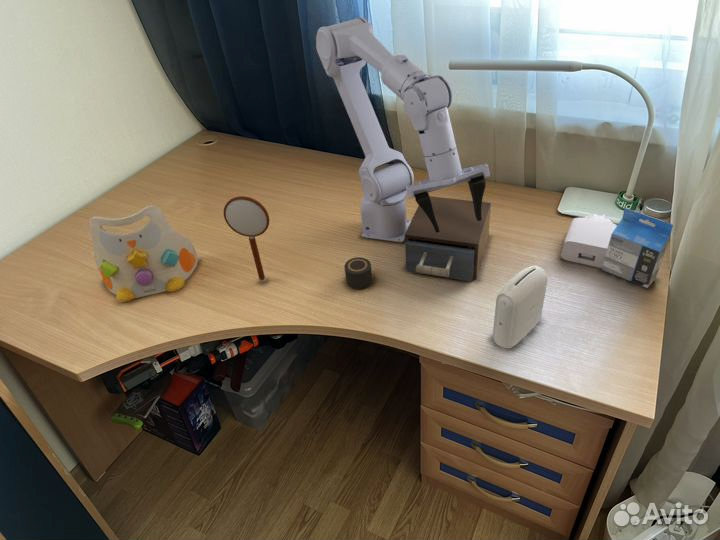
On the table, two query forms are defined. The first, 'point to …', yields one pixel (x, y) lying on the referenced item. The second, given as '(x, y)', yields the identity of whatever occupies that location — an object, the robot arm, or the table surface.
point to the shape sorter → (142, 255)
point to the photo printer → (519, 306)
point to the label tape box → (637, 248)
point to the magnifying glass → (248, 223)
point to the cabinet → (453, 226)
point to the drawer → (440, 259)
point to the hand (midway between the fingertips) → (458, 225)
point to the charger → (588, 240)
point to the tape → (358, 273)
